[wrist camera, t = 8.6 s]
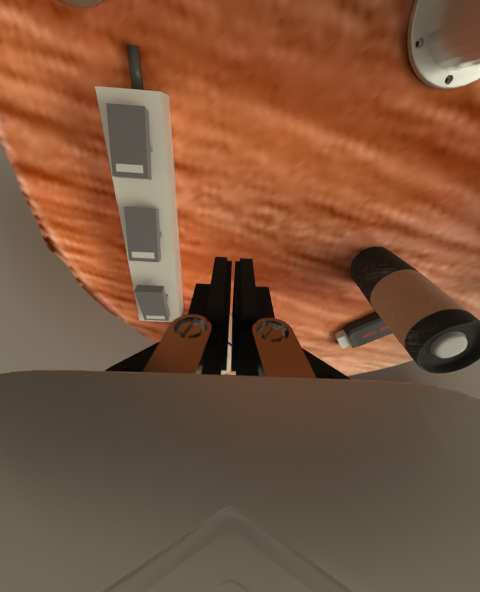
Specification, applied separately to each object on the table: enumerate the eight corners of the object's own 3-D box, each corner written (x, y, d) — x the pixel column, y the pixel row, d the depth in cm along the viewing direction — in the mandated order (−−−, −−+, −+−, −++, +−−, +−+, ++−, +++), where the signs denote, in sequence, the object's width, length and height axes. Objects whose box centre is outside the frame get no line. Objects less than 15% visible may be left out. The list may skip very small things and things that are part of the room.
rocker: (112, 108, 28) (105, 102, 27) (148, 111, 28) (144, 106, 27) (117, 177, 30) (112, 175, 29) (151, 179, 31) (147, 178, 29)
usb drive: (398, 321, 51) (405, 331, 49) (340, 345, 55) (345, 354, 52) (391, 303, 49) (399, 312, 47) (331, 329, 52) (336, 338, 50)
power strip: (101, 44, 28) (78, 30, 24) (166, 50, 29) (154, 37, 25) (145, 307, 48) (137, 323, 44) (183, 309, 48) (178, 325, 44)
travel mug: (351, 290, 47) (415, 381, 30) (345, 254, 43) (415, 335, 26) (395, 277, 45) (489, 364, 28) (393, 238, 41) (500, 313, 24)
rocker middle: (128, 206, 34) (123, 206, 32) (158, 208, 34) (155, 208, 33) (132, 258, 36) (128, 260, 35) (161, 260, 36) (158, 262, 35)
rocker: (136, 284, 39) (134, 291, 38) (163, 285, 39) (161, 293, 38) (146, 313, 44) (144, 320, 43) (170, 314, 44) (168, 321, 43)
